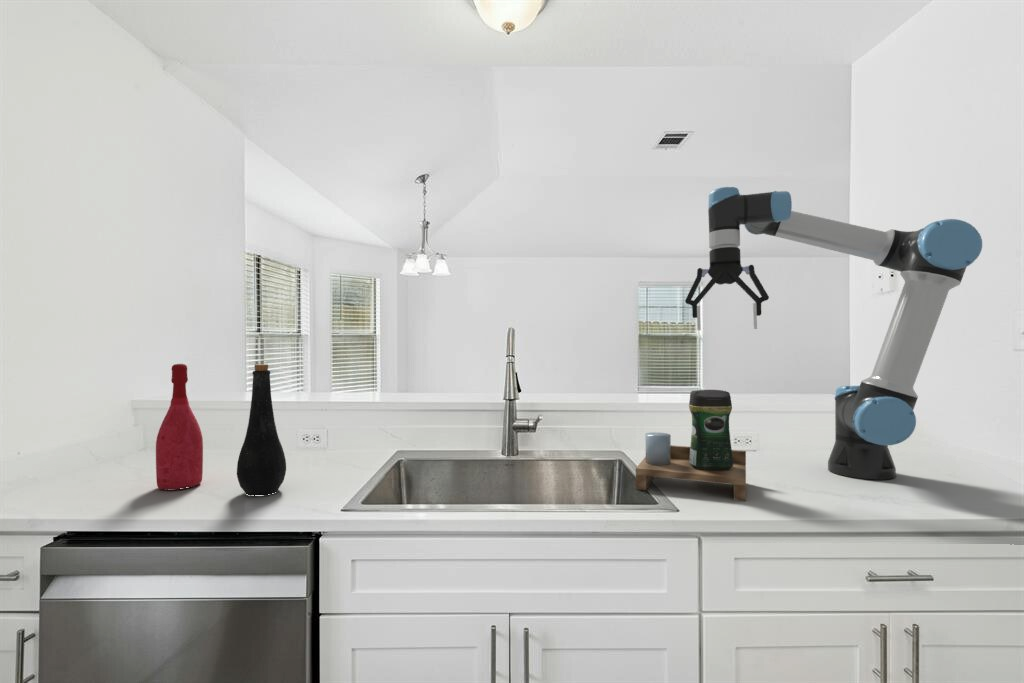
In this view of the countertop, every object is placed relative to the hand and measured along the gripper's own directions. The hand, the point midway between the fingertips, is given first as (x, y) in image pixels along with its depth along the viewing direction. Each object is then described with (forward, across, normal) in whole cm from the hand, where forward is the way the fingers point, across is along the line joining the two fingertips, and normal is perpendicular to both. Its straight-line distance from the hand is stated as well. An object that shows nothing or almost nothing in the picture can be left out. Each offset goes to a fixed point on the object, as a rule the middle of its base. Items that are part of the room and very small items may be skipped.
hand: (726, 329), depth 141 cm
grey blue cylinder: (+33, +17, +14) cm, 39 cm away
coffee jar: (+33, +5, +14) cm, 36 cm away
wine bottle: (+36, +126, +57) cm, 143 cm away
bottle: (+36, +103, +54) cm, 122 cm away
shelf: (+38, +9, +14) cm, 41 cm away
